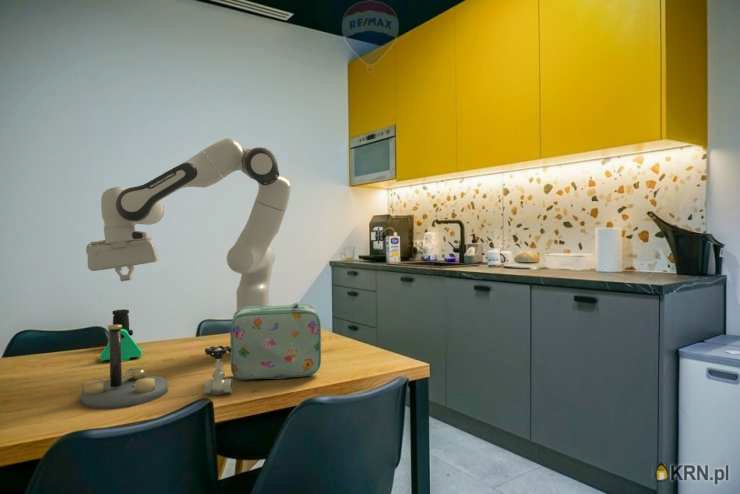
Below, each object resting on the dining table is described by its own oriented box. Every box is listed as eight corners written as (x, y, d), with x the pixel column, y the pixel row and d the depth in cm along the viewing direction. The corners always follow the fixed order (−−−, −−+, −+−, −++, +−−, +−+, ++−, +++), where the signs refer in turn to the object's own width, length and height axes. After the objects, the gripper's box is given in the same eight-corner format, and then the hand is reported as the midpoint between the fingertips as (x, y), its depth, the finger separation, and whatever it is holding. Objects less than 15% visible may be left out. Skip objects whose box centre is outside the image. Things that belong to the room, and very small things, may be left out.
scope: (106, 313, 169) (109, 309, 178) (107, 352, 169) (109, 346, 179) (131, 312, 172) (133, 308, 182) (132, 349, 173) (133, 344, 182)
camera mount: (141, 354, 166) (141, 325, 166) (141, 359, 159) (140, 329, 159) (102, 358, 161) (102, 328, 161) (100, 363, 154) (99, 332, 154)
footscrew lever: (133, 375, 132) (132, 318, 132) (148, 375, 131) (147, 318, 131) (103, 388, 120) (102, 326, 120) (119, 389, 120) (118, 326, 119)
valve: (209, 390, 125) (208, 345, 125) (234, 390, 126) (233, 345, 126) (202, 399, 119) (201, 351, 119) (229, 398, 119) (228, 351, 119)
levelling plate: (177, 381, 134) (176, 365, 134) (153, 406, 114) (152, 387, 114) (102, 384, 131) (102, 368, 131) (64, 410, 112) (64, 391, 111)
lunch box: (321, 367, 147) (321, 299, 146) (325, 377, 137) (325, 303, 136) (232, 373, 141) (231, 302, 141) (229, 384, 131) (228, 307, 131)
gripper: (81, 241, 147) (86, 285, 146) (151, 232, 151) (157, 275, 150) (89, 243, 153) (94, 286, 152) (156, 234, 157) (161, 275, 156)
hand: (126, 280), depth 151 cm, fingers closed
